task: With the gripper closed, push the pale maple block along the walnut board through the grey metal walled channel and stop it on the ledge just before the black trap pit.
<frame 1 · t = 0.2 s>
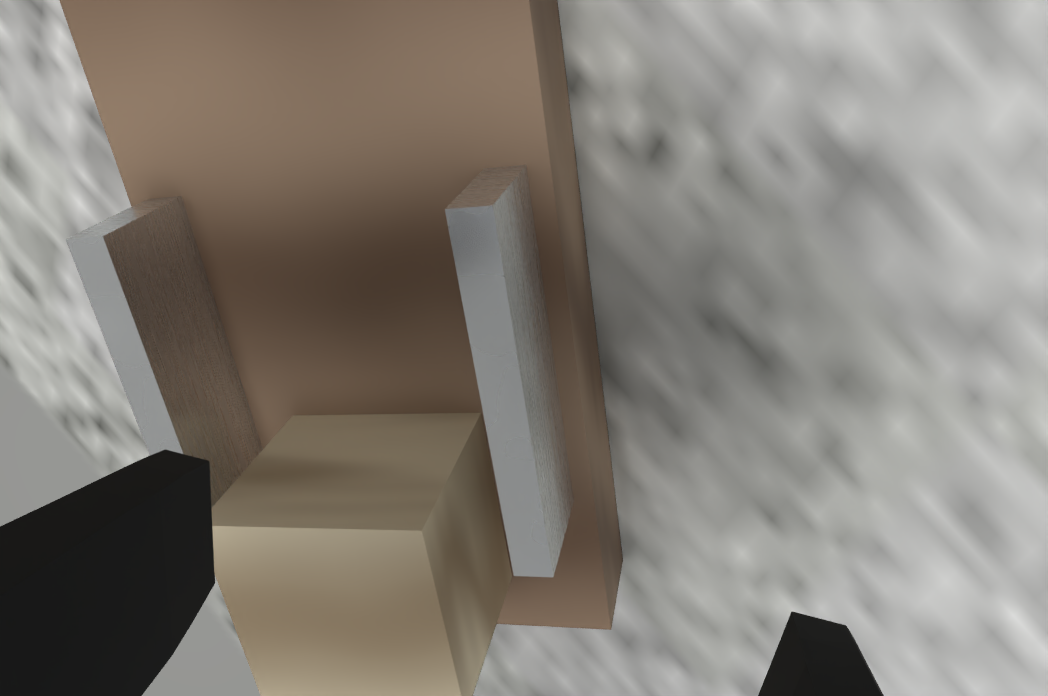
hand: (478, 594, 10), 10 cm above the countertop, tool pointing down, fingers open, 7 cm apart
channel walls: (344, 382, 17), on the route board, point 4 cm above the countertop
maple block: (404, 497, 20), point 2 cm above the countertop, touching route board
route board: (359, 93, 18), on the countertop
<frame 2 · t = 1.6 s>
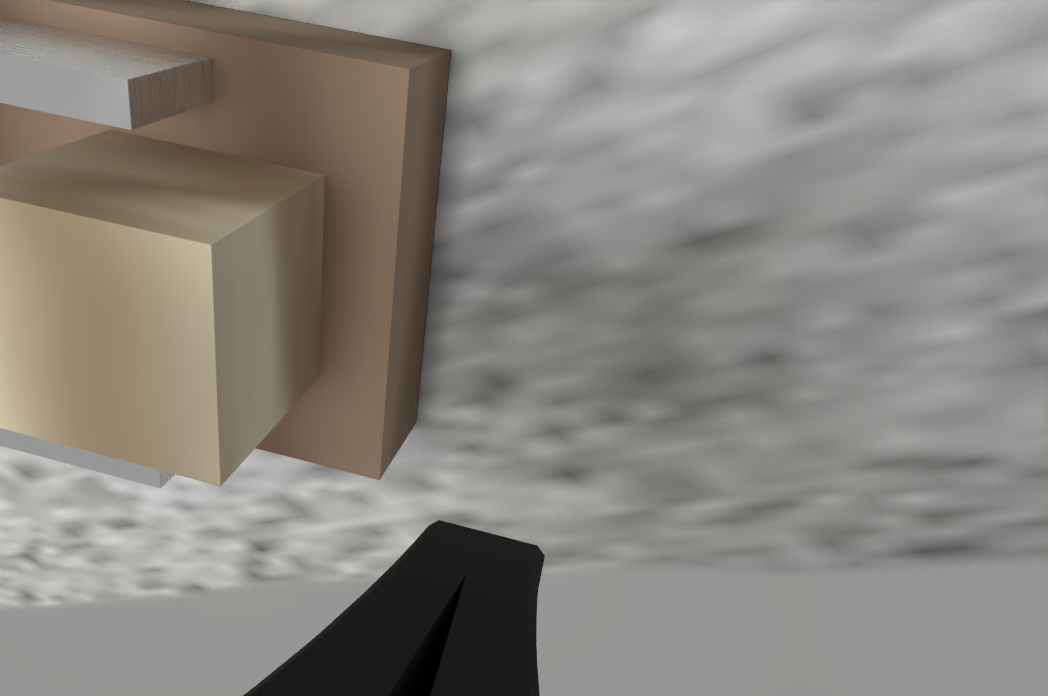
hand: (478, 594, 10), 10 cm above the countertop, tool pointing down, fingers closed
channel walls: (11, 243, 17), on the route board, point 4 cm above the countertop
maple block: (219, 259, 17), point 2 cm above the countertop, touching route board
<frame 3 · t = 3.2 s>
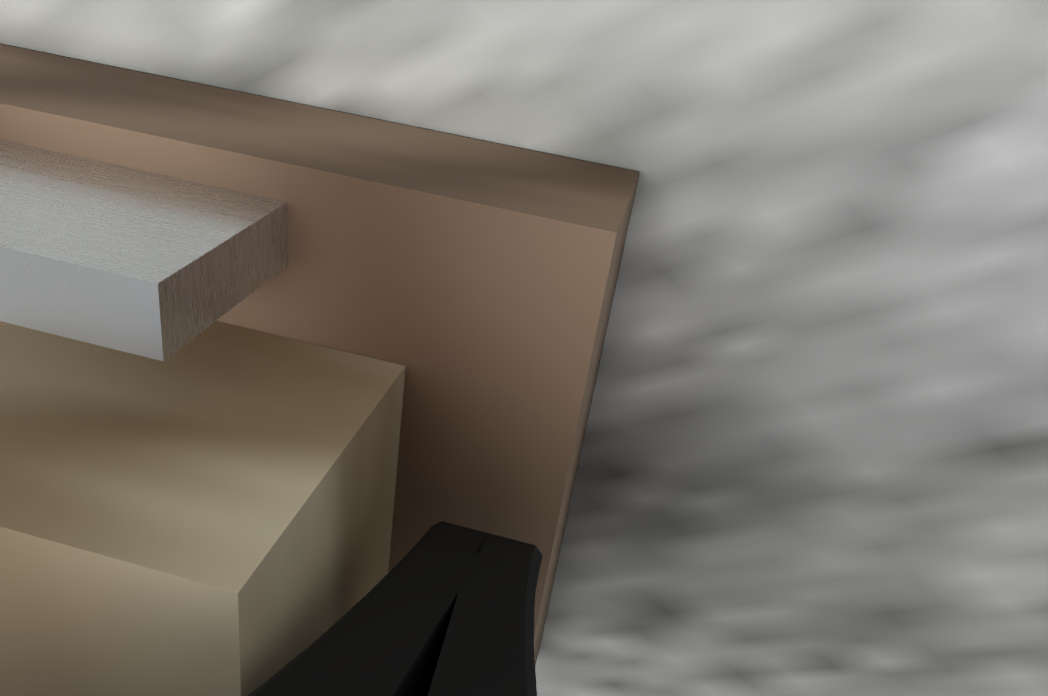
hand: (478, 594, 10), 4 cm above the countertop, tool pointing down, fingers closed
maple block: (238, 469, 12), point 3 cm above the countertop, touching gripper
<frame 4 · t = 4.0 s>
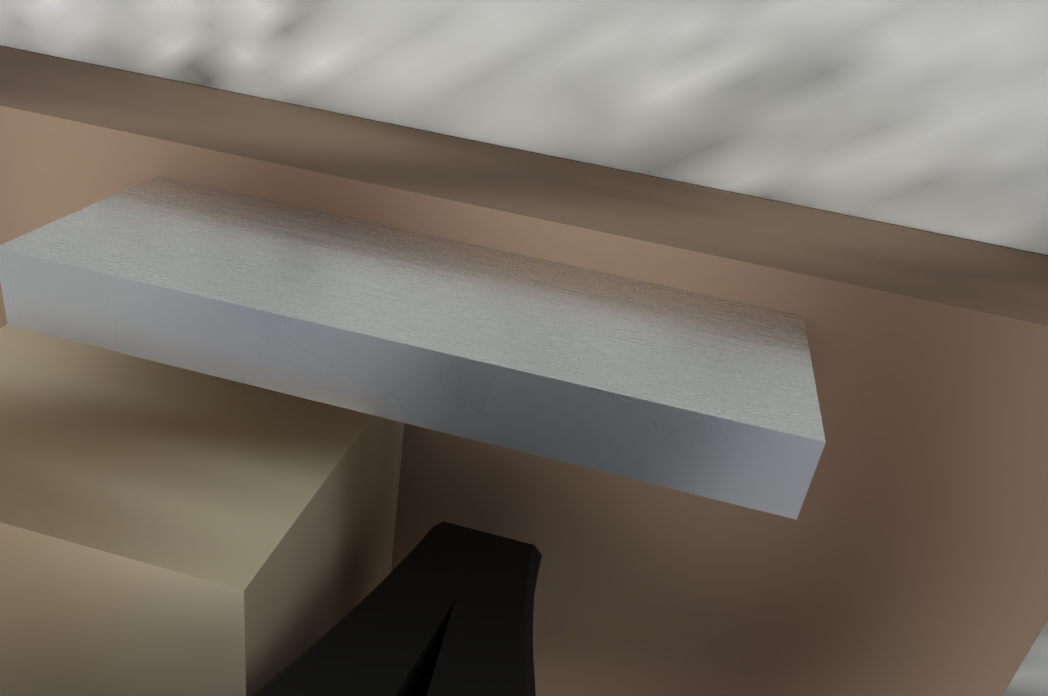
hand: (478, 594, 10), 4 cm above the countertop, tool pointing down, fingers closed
channel walls: (400, 587, 10), on the route board, point 4 cm above the countertop
maple block: (241, 468, 12), point 3 cm above the countertop, touching gripper, route board
route board: (193, 356, 14), on the countertop
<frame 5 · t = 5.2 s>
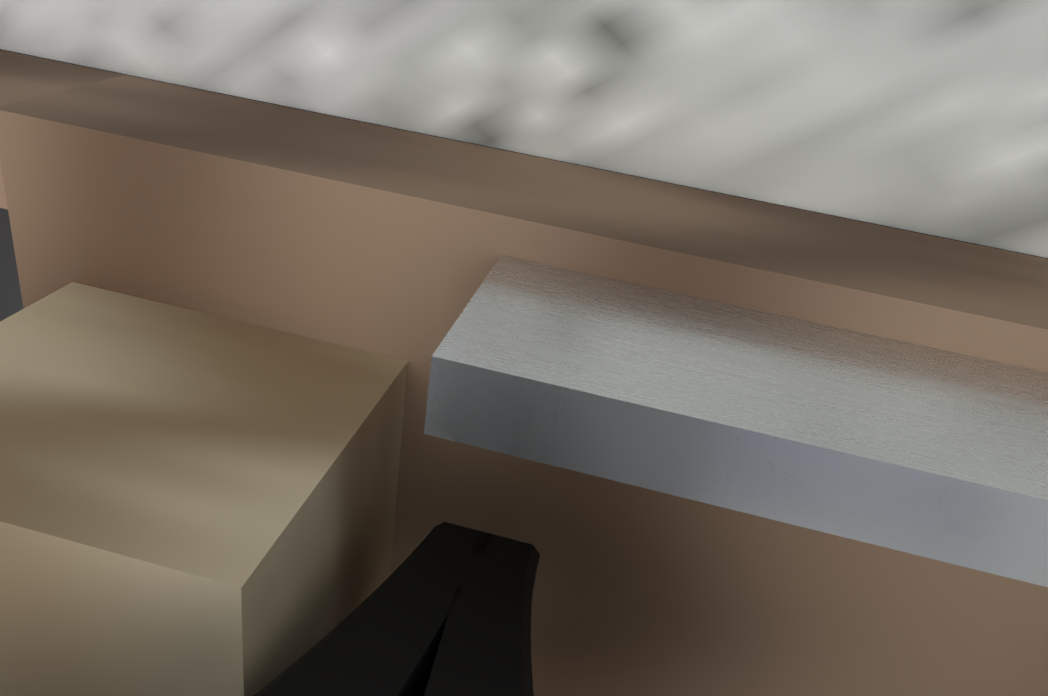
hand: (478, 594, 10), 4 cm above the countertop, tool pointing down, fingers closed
channel walls: (746, 686, 10), on the route board, point 4 cm above the countertop
maple block: (239, 466, 12), point 2 cm above the countertop, touching gripper, route board
route board: (431, 417, 14), on the countertop
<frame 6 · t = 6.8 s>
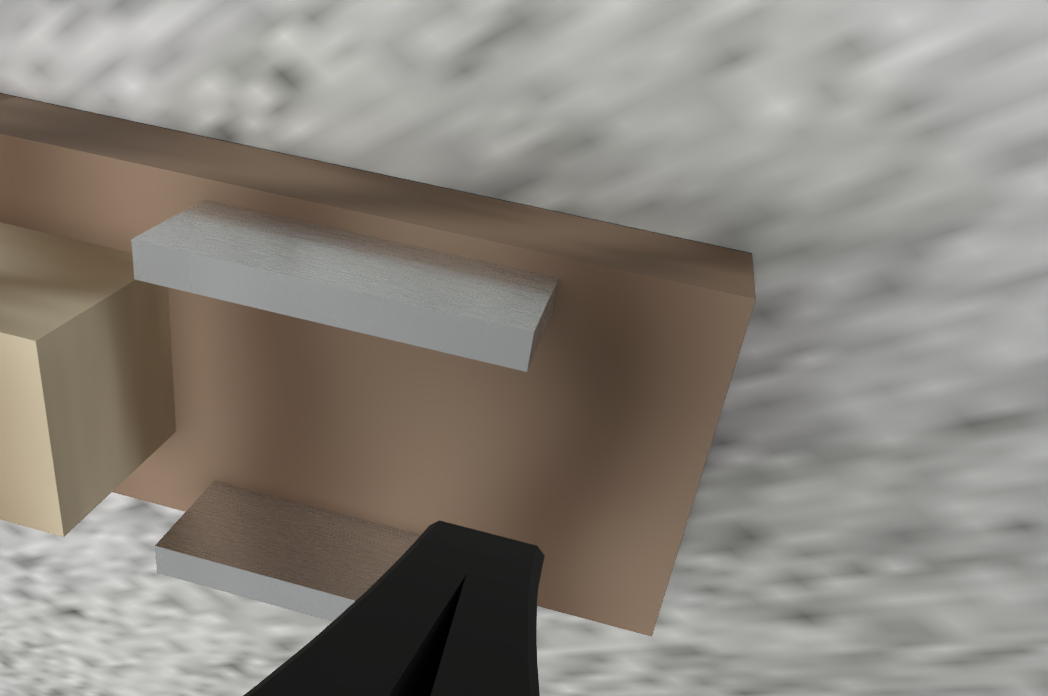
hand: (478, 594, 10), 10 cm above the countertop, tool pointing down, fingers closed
channel walls: (343, 435, 18), on the route board, point 3 cm above the countertop
maple block: (82, 329, 20), point 2 cm above the countertop, touching route board
route board: (216, 311, 22), on the countertop
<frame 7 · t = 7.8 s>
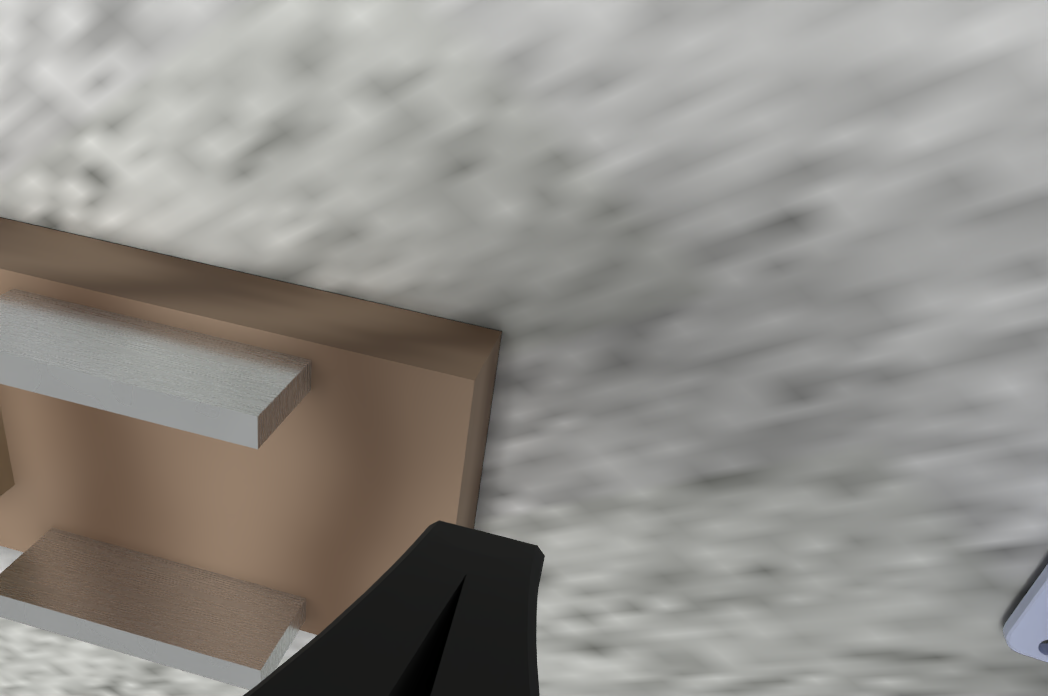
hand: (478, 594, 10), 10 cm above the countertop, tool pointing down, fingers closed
channel walls: (139, 494, 20), on the route board, point 4 cm above the countertop
route board: (59, 374, 24), on the countertop
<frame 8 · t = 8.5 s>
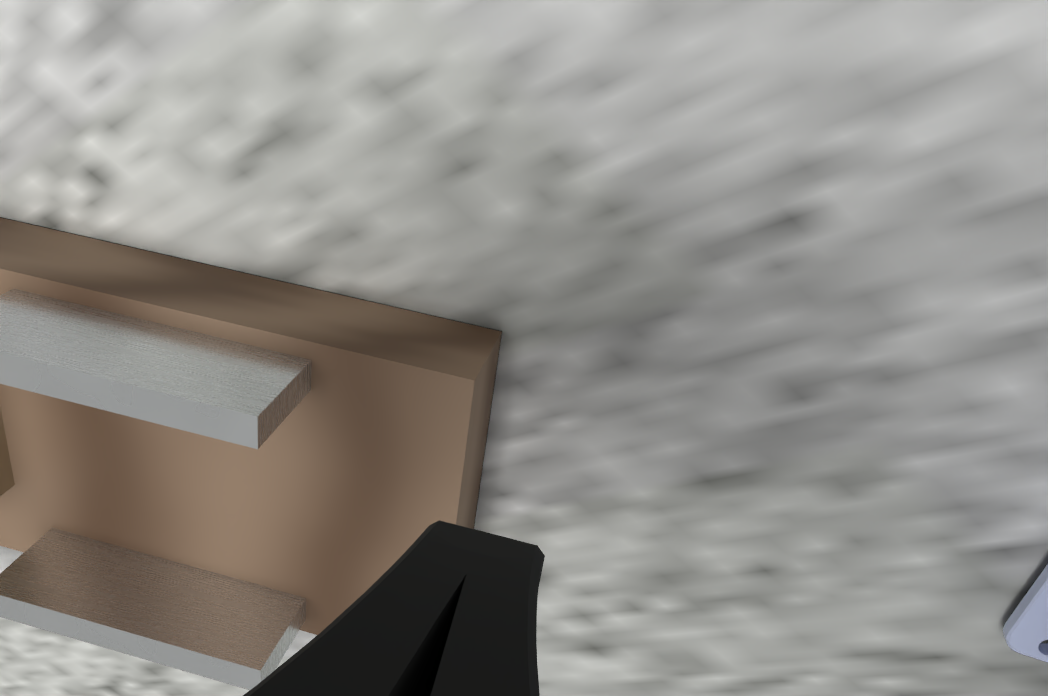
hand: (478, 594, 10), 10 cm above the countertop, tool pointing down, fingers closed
channel walls: (139, 494, 20), on the route board, point 3 cm above the countertop
route board: (59, 374, 24), on the countertop
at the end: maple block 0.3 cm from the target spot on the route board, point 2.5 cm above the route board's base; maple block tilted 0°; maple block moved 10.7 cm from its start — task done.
